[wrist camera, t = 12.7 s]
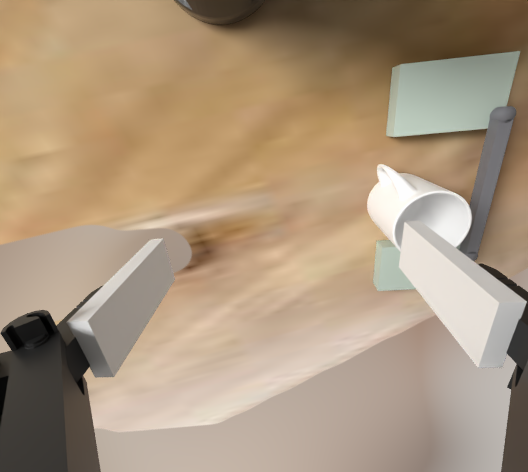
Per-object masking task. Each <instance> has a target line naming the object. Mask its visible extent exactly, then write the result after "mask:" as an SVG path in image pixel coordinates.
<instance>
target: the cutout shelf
mask: <svg viewBox="0 0 528 472" xmlns="http://www.w3.org/2000/svg"><path fill="white" fill-rule="evenodd" d="M519 55H520V51H515V52H506V53H497V54H488V55H479V56H470V57H461V58H452V59H443V60H434V61H425V62H416V63H407V64H400V65H398V66H395V67H393V68H392V77H391V88H390V99H389V110H388V121H387V132H386V136H391V137H399V136H410V135H422V134H433V133H444V132H455V131H466V130H477V129H487V133H486V137H485V142H484V146H483V150H482V154H481V159H480V163H479V167H478V172H477V176H476V180H475V184H474V189H473V193H472V197H471V201H470V206H469V207H470V209H471V214H472V222H471V226H470V229H469V232H468V234H467V235H466V237H465V239H464V240H463V241H462V242H461V243H460V244H459V245H458V246H457V247H456V248H457V249H458V250H459V251H461V252H462V253H463V254H465V255H466V256H467V257H469V258H470V259H471V260H473V261H475V260H476V259H477V257H478V251H479V247H480V243H481V240H482V236H483V232H484V228H485V225H486V221H487V217H488V213H489V210H490V206H491V202H492V198H493V195H494V191H495V187H496V183H497V180H498V176H499V172H500V168H501V165H502V161H503V157H504V154H505V150H506V146H507V142H508V139H509V135H510V131H511V127H512V124H513V120H514V117H515V115H516V109H515V108H514V107H512V106H507V102H508V98H509V94H510V90H511V86H512V82H513V79H514V75H515V71H516V67H517V63H518V59H519ZM400 253H401V252H400V251H399V250H398V249H397V248H396V246H395V245H394V244H393V243H392V242H391V241H390V240H381V241H377V243H376V254H375V265H374V277H373V283H374V285H375V287H376V288H377V290H378V291H386V290H408V289H416V288H415V287H414V286H413V284H412V283H411V282H410V281H409V279H408V278H407V277H406V275H405V274H404V273H403V272H402V270H401V269H400V268H399V261H400Z"/></svg>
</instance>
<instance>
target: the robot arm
mask: <svg viewBox="0 0 528 472" xmlns="http://www.w3.org/2000/svg"><path fill="white" fill-rule="evenodd" d="M174 1H175V2H176V3H177V4H178V5H179V6H180V7H181V8H182V9H183V10H184V11H186V12H187V13H188V14H190V15H191V16H193V17H195V18H197V19H199V20H201V21H204V22H207V23H211V24H230V23H234V22H237V21H240V20H242V19H244V18H246V17H248V16H249V15H251V14H252V13H254V12H255V11H256V10H257V9H258V8H259V7H260V6H261V5H262V4H263V3H264V2H265V0H174ZM399 268H400V269H401V270H402V272H403V273H404V274H405V275H406V277H407V278H408V279H409V281H410V282H411V283H412V284H413V286H414V287H415V288H416V289H417V291H418V292H419V293H420V295H421V296H422V297H423V298H424V300H425V301H426V302H427V303H428V305H429V306H430V307H431V309H432V310H433V311H434V312H435V314H436V315H437V316H438V317H439V319H440V320H441V321H442V323H443V324H444V325H445V326H446V328H447V329H448V330H449V331H450V333H451V334H452V335H453V337H454V338H455V339H456V340H457V342H458V343H459V344H460V345H461V347H462V348H463V349H464V350H465V352H466V353H467V354H468V356H469V357H470V358H471V359H472V361H473V362H474V363H475V365H476V366H477V367H478V368H496V367H497V368H498V367H503V364H504V361H505V359H506V355H507V354H508V355H509V356H510V357H511V358H512V359H513V360H514V361H515V362H516V363H517V365H516V367H515V370H514V372H513V375H512V377H511V379H510V382H509V384H508V388H509V389H511V397H510V406H509V414H508V422H507V429H506V438H505V446H504V454H503V462H502V470H501V472H528V292H527V291H526V290H524V289H523V288H521V287H520V286H517V284H516V283H514V282H513V281H512V280H510V279H508V278H507V277H506V276H505V275H503V274H502V273H500V272H499V271H498V270H496V269H493V268H491V267H489V266H487V265H484V264H477V263H475V262H474V261H473V260H471V259H470V258H469V257H467V256H466V255H465V254H463V253H462V252H461V251H459V250H458V249H457V248H455V247H454V246H453V245H451V244H450V243H449V242H447V241H446V240H445V239H443V238H442V237H441V236H439V235H438V234H437V233H436V232H434V231H433V230H432V229H430V228H429V227H428V226H426V225H425V224H424V223H422V222H421V221H406V222H404V229H403V237H402V245H401V253H400V261H399ZM174 280H175V278H174V274H173V271H172V267H171V263H170V260H169V256H168V253H167V249H166V245H165V242H164V239H151V240H150V241H149V242H148V243H147V244H146V245H144V247H142V248H141V249H140V250H139V251H138V252H137V254H135V255H134V256H133V257H132V258H131V259H130V260H129V261H128V262H127V263H126V264H125V265H124V266H123V267H122V268H121V269H120V270H119V271H118V272H117V273H116V274H115V275H114V276H113V277H112V278H111V279H110V280H109V281H108V282H107V283H106V284H105V285H104V286H101V287H100V288H98V289H96V290H95V291H93V292H91V293H90V294H89V295H88V296H87V297H86V298H85V299H84V300H83V302H81V303H80V304H79V305H78V306H77V308H75V309H74V310H73V311H72V312H70V313H69V314H68V315H67V316H66V317H65V318H64V319H63V320H62V321H61V322H60V323H59V324H58V325H57V326H56V325H55V323H54V321H53V319H52V317H51V315H50V313H49V312H48V311H45V310H40V311H34V312H31V313H27V314H25V315H23V316H21V317H18V318H17V319H15V320H13V321H12V322H10V323H9V324H8V325H7V326H5V327H4V328H3V330H2V332H1V335H2V336H3V338H4V339H5V341H6V342H7V344H8V345H9V347H10V348H11V350H12V351H8V352H5V353H1V354H0V472H101V471H100V465H99V459H98V453H97V446H96V440H95V433H94V427H93V420H92V414H91V408H90V401H89V395H88V389H87V382H86V380H85V378H84V376H83V375H84V373H85V372H86V371H87V369H88V368H89V367H90V368H91V370H92V372H93V374H94V376H95V377H114V376H115V375H116V373H117V371H118V370H119V368H120V367H121V365H122V363H123V362H124V360H125V359H126V357H127V355H128V354H129V352H130V351H131V349H132V347H133V346H134V344H135V343H136V341H137V339H138V338H139V336H140V335H141V333H142V331H143V330H144V328H145V327H146V325H147V323H148V322H149V320H150V319H151V317H152V315H153V314H154V312H155V311H156V309H157V307H158V306H159V304H160V303H161V301H162V299H163V298H164V296H165V295H166V293H167V291H168V290H169V288H170V287H171V285H172V283H173V282H174Z"/></svg>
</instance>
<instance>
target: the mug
mask: <svg viewBox="0 0 528 472" xmlns="http://www.w3.org/2000/svg"><path fill="white" fill-rule="evenodd" d="M377 175H378V179H379V182H378V183H377V184H376V185H375V186H374V187H373V189H372V190H371V192H370V194H369V197H368V201H367V209H368V213H369V215H370V217H371V219H372V220H373V222H374V223H375V224H376V225H377V226H378V227H379V228H380V230H381V231H382V232H383V233H384V234H385V235H386V236H387V237H388V239H389V240H390V241H391V242H392V243H393V244H394V245H395V246H396V248H397V249H398V250H399V251H400V252H401V245H402V237H403V229H404V222H406V221H421V222H422V223H424V224H425V225H426V226H428V227H429V228H430V229H432V230H433V231H434V232H436V233H437V234H438V235H439V236H441V237H442V238H443V239H445V240H446V241H447V242H449V243H450V244H451V245H453V246H454V247H455V248H456V247H457V246H458V245H459V244H460V243H461V242H462V241H463V240H464V239H465V237H466V235H467V234H468V232H469V229H470V226H471V222H472V214H471V209H470V207H469V205H468V203H467V202H466V200H465V199H464V198H462V197H461V196H460V195H458V194H456V193H454V192H452V191H449V190H447V189H445V188H443V187H440V186H438V185H436V184H434V183H431V182H429V181H427V180H425V179H422V178H420V177H418V176H415V175H412V174H408V173H397V172H396V171H395V170H393V169H392V168H390V167H388V166H386V165H383V164H379V165H378V167H377Z"/></svg>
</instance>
